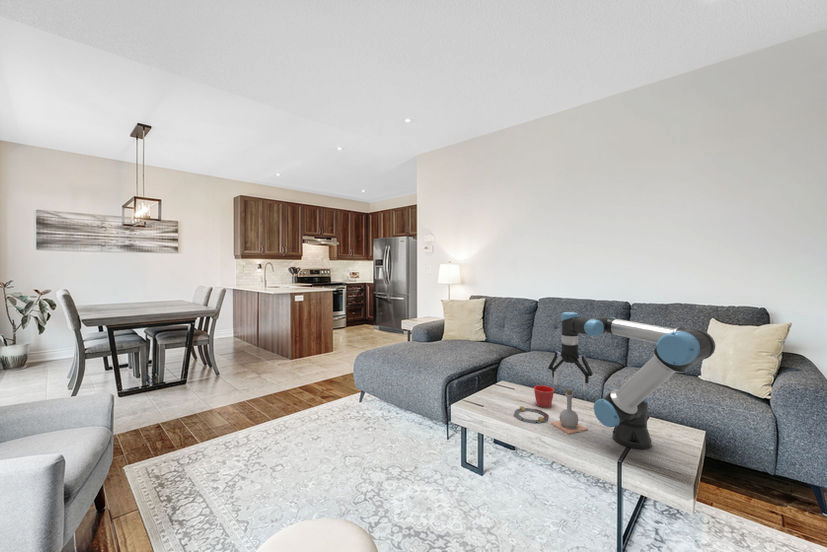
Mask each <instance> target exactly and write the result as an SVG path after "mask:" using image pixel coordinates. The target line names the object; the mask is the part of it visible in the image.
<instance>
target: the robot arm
mask: <svg viewBox="0 0 827 552" xmlns="http://www.w3.org/2000/svg"><path fill="white" fill-rule="evenodd" d="M560 322H561V351H555V352H554V356H553V358H552V360H551V362H550V364H549V365H548V368H547V369H548V370H550V371H551V377H552V378H553V385H555V386H557V385H558V370H557V369H558V368H559V367H560V366H561V365H562V364H563V363H564V362H565V363H569V364H574V365H575V366H576V367H577V368H578V369H579V370H580V372H581V373H582V374H583V376H582V378H583V379H582V380H583V381H582V382H583V383H582V388H583V389H582V390H583V391H586V390H587V384H589V377H592V376H593V375H594V373H593V371H592V369H591V367H590V365H589V363H588V361H587V358H586V355H585V354H583V355H582V354H581V355H580V354H579V345H578V344H579V334H581V335H586V336H590V337H600V336H601V335H603V334H609V335H616V336H619V337H622V338H624V337H625V338H629V339H633V340H638V341H642V342H646V343H651V344H652V343H653V344H656V347H655V348H654V349H653V351H652V352H653V356H652V357H651V358H650V359H649V360H648V361H647V362H646V363H645V364H644V365H643V366H641V367H640V368H639V370H637V371H636V373H634V374H633V375H632V376H631V377H630V378H629V379H628V380H627V381H626V382H625V383H624V384H623V385H622V386H621V387H619V388H618V389H617V388H613V389H612V390H610V391H609V393H608V394H606V396H604V397H603V398H599V399H597V400H595V402H594V404H593V413H594V415H595V418H596V419H597V420H598V422H599V423H601V424H602V425H603V426H605V427H608V428H613V430H612V439H613V440H614V441H615V442H616V443H618V444H620V445H622V446H624V447H626V448H632V449H637V450H648V449H650V448H651V447H652V444H653V442H652V438H651V435H650V431H649V429H648V404H649V402H648V397H649V396H650V395H652V393H654V392H655V391H656V390H657V389H658V388H659V387H661V385H663V384H664V383H665V382H666V381H667V380H668V379H669V378H671V377H672V376H674V374H675V373H680V374H682V373H684V372H686V371H687V369H689V368H690V367H691V366H692V365H694V364H695V363H696V362H699V361H704V360H706V359H709V358H710V357H711V356H712V355H713V354H714V353H715V350H716V342H715V340H714V338H713V336H711V335H710V334H709V333H708V332H706V331H704V330H703V329H702V330H701V329H698V328H688V327H682V326H681V327H680V326H679V327H676V328H672V327H666V326H660V325H656V324H655V325H653V324H650V323H649V324H648V323H643V322H636V321H632V320H625V319H619V318H615V317H614V316H608V315H607V316H601V317H590V318H587V317H586V318H585V317H580V316H579V313H578V312H574V311H564V312H562V314H561V321H560ZM560 356H561V358H562V359H561V360H559V361H558V362H557V364H556V365H555V363H556V361H557V360H558V358H559V357H560ZM579 358H580V360H581V361H582V364H583V365H582V364H581V362H580V360H579Z"/></svg>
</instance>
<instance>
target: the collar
mask: <svg viewBox="0 0 827 552" xmlns="http://www.w3.org/2000/svg"><path fill="white" fill-rule="evenodd" d="M523 412H531V413H537V412H538V413H537V414H540V415H541V416H539V417H538V416H537V417H538V418H537V419H530V418H525V417H523V416H521V415H520V413H523ZM513 416H514V417H515V418H516V419H518V420H520V421H521V422H523V423H529V424H534V425H535V424H537V425H539V424H543V423H548V421H549V418H550V417H549V414H548V413H546V412H545V411H543V410H541V409H537V408H531V407H525V406H524V405H522V406H521V405H520V406H519V408H516V409H515V411H514V412H513ZM542 416H543V417H542Z"/></svg>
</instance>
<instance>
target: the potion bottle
mask: <svg viewBox="0 0 827 552" xmlns="http://www.w3.org/2000/svg"><path fill="white" fill-rule="evenodd" d="M564 395H565V397H566V409H563V410H561V412H560V414H559V418H558V419H559V421H560V422H561V423H562V426H563V427H566V428H570V429H574V428H576V426H577V425H578V424H579V416H578V414H577V412H576V411H575V410H573V409H572V408H573V407H572V404H573V403H572V401H573V400H572V399H573V398H574V393H573V390H571V389H566V392H565V394H564Z"/></svg>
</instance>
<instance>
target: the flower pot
mask: <svg viewBox="0 0 827 552" xmlns="http://www.w3.org/2000/svg"><path fill="white" fill-rule="evenodd" d="M533 390H534V396H535V402H536V405H537V407H540V408H546V409H547V408H550V407H551V406H552V403H553V398H554V395H555V394H554V393H555V389H554V388H553V387H551V386H548V385H535V386H534V387H533Z"/></svg>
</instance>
